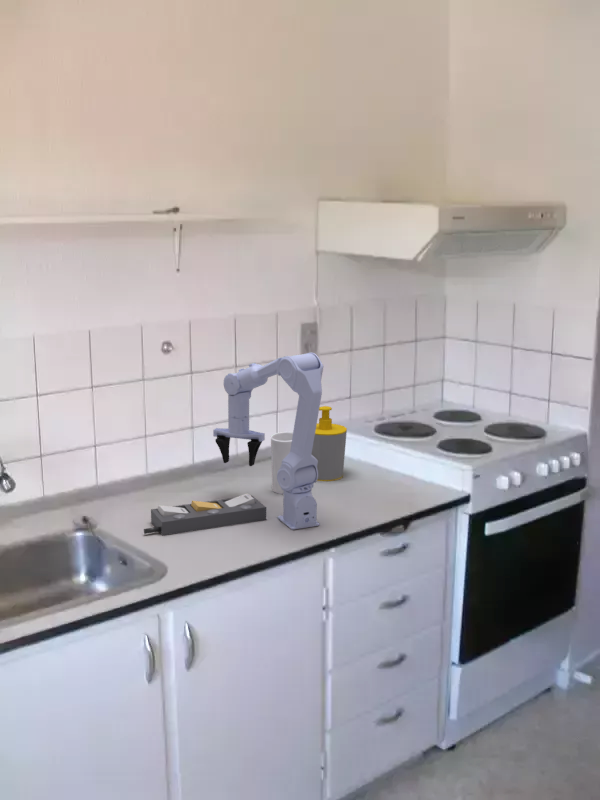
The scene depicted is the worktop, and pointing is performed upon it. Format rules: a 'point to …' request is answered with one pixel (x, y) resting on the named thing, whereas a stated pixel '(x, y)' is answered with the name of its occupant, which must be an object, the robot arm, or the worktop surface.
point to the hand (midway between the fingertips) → (238, 463)
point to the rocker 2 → (240, 500)
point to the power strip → (206, 517)
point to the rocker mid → (204, 506)
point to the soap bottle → (329, 447)
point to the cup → (279, 455)
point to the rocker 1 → (171, 510)
